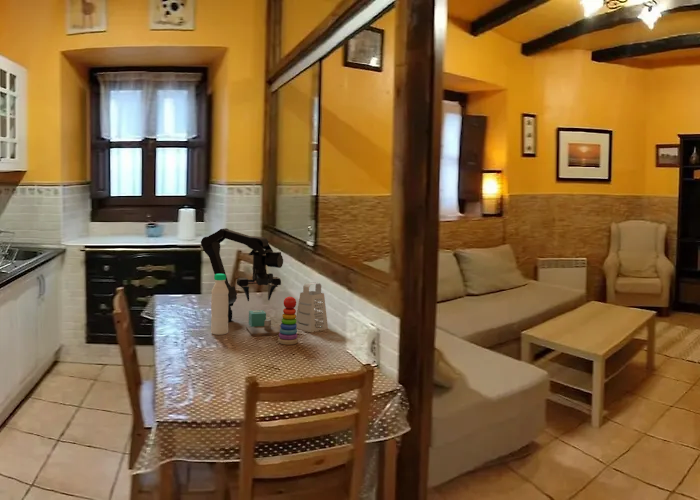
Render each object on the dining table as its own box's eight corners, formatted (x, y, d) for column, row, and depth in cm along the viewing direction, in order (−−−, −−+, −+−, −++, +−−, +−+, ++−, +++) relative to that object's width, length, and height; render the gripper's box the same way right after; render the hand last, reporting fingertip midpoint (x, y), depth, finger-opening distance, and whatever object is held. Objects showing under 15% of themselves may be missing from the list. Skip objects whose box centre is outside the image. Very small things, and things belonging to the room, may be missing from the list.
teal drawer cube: (251, 327, 272) (251, 313, 271) (248, 324, 278) (248, 310, 277) (265, 326, 274) (266, 312, 274) (262, 323, 280) (263, 309, 280)
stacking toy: (282, 346, 244) (283, 299, 242) (275, 341, 251) (275, 295, 249) (300, 344, 248) (302, 297, 246) (293, 339, 255) (294, 294, 253)
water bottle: (231, 332, 262) (232, 273, 259) (221, 336, 256) (221, 276, 253) (217, 330, 265) (218, 272, 262) (207, 333, 259) (207, 274, 256)
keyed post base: (251, 336, 257) (251, 324, 257) (246, 329, 268) (246, 317, 268) (289, 334, 263) (289, 322, 262) (282, 327, 274) (282, 316, 273)
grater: (328, 328, 275) (329, 283, 272) (310, 332, 267) (312, 286, 265) (311, 324, 282) (312, 280, 279) (294, 327, 274) (295, 283, 272)
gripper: (242, 269, 263) (241, 305, 265) (285, 268, 270) (284, 303, 272) (236, 265, 273) (236, 300, 275) (277, 264, 280) (277, 298, 282)
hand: (258, 300), depth 276 cm, fingers open, 9 cm apart
